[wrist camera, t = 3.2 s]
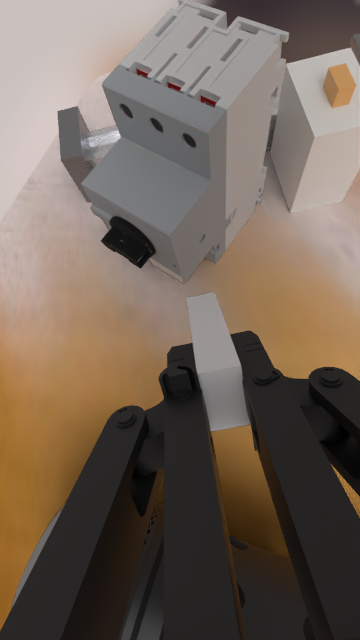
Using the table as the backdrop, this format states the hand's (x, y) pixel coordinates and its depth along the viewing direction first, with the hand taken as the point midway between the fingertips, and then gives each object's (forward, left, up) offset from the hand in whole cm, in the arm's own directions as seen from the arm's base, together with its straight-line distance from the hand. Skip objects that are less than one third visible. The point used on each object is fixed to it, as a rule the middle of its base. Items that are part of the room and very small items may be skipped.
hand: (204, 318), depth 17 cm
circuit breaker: (0, -12, -12) cm, 17 cm away
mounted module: (-13, -16, -12) cm, 24 cm away
